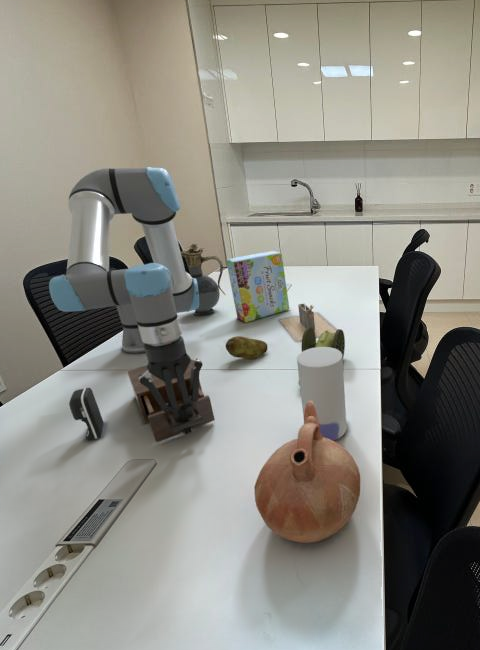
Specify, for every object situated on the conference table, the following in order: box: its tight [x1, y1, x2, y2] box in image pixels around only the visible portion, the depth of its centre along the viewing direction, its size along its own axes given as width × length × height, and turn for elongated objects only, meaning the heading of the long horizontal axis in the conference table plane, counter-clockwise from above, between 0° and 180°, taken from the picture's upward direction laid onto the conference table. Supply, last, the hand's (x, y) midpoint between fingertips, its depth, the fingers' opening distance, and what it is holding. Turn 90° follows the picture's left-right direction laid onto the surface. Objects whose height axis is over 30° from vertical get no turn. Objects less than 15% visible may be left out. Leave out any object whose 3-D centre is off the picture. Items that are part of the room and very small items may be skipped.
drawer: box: [143, 381, 216, 443], centre depth 95 cm, size 19×13×7 cm
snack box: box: [225, 250, 290, 324], centre depth 164 cm, size 22×9×26 cm, turn 133°
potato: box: [225, 335, 268, 360], centre depth 129 cm, size 8×13×8 cm, turn 102°
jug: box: [253, 401, 361, 544], centre depth 67 cm, size 18×18×20 cm
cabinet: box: [126, 364, 203, 424], centre depth 106 cm, size 16×15×9 cm
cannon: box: [298, 328, 346, 387], centre depth 119 cm, size 25×12×11 cm, turn 168°
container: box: [296, 347, 348, 442], centre depth 90 cm, size 10×10×20 cm
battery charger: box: [68, 387, 105, 441], centre depth 92 cm, size 7×4×11 cm, turn 26°
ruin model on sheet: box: [279, 303, 337, 342], centre depth 153 cm, size 25×16×10 cm, turn 27°
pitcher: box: [180, 243, 226, 316], centre depth 167 cm, size 11×19×30 cm, turn 118°
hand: (187, 430), depth 91 cm, fingers closed
